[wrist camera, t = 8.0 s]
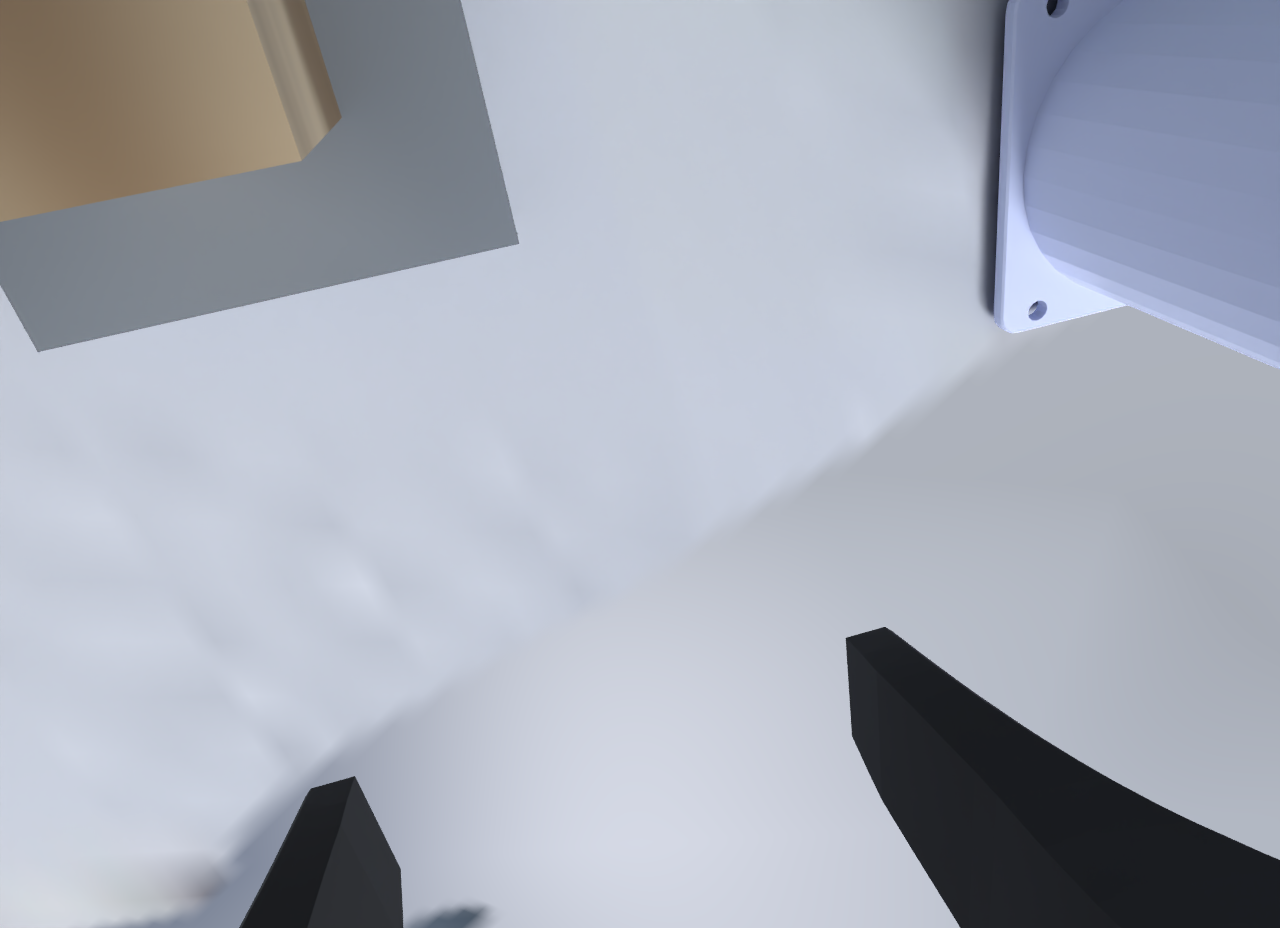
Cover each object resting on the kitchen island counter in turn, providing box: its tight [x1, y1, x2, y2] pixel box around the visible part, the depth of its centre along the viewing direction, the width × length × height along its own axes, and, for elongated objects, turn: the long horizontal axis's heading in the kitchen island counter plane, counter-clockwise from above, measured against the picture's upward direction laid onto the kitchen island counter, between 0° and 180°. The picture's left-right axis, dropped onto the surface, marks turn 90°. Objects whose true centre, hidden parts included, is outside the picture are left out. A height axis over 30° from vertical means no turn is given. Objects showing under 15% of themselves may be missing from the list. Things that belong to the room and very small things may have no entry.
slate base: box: [0, 0, 519, 352], centre depth 15 cm, size 9×9×2 cm
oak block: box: [0, 0, 342, 222], centre depth 11 cm, size 4×4×5 cm
